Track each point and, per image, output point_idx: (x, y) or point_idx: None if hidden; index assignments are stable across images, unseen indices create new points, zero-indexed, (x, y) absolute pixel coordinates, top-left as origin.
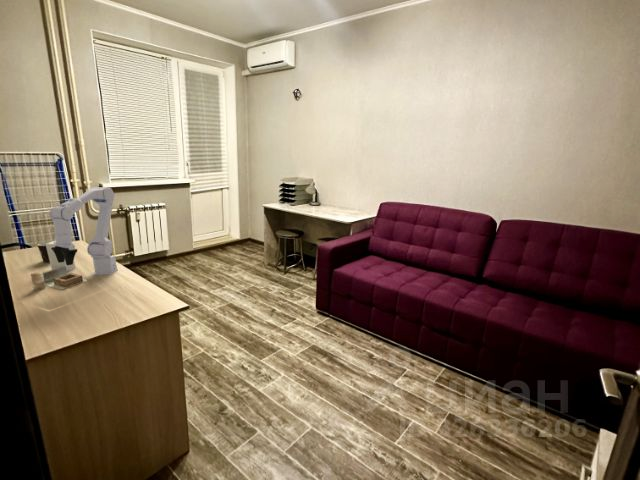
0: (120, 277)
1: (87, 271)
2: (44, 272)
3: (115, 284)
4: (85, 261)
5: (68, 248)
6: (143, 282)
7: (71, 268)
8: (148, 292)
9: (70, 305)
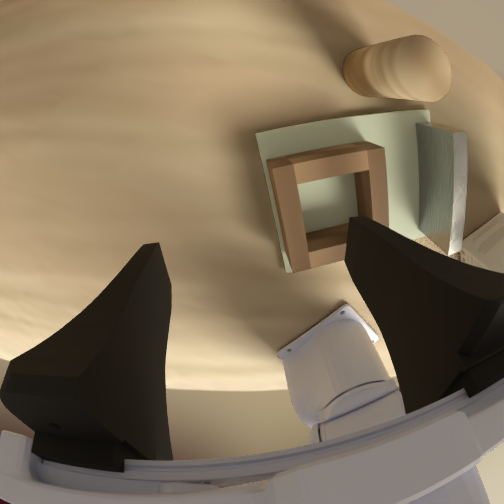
0: (218, 362)
1: None
2: (461, 145)
3: None
4: None
5: (79, 466)
6: None
7: None
8: (21, 347)
9: (28, 122)
